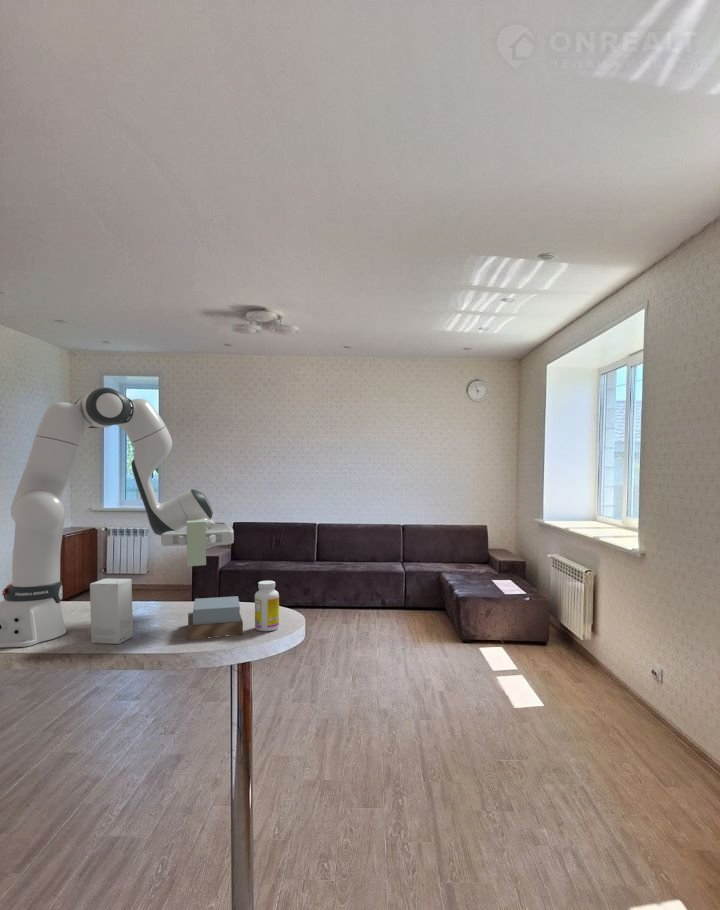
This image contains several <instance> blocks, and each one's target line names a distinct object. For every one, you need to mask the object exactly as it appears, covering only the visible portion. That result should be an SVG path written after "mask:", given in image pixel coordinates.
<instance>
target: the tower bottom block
mask: <svg viewBox="0 0 720 910" xmlns="http://www.w3.org/2000/svg"><path fill="white" fill-rule="evenodd" d="M239 634H244V622H243V619H242V616H241V614H240V622H229V623H215V624H201V625H193V612H187V641H193V639H195V640H201V639H200V638H205V639H209V638H208V637H215V636H225V637H227V636H226V635H235V636H240V635H239ZM215 638H216V637H215Z"/></svg>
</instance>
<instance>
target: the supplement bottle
mask: <svg viewBox="0 0 720 910" xmlns="http://www.w3.org/2000/svg"><path fill="white" fill-rule="evenodd" d="M257 584H258V586H257V587H258V591H256V592H255V594H254V628H255V630H257V631H259V632H271V631H272V632H273V631H276V630H277V629H279V627H280V595H279V591H277V590H276V589H275V588H276V582H275V581H273V580H261V581H259V582H257Z"/></svg>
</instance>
